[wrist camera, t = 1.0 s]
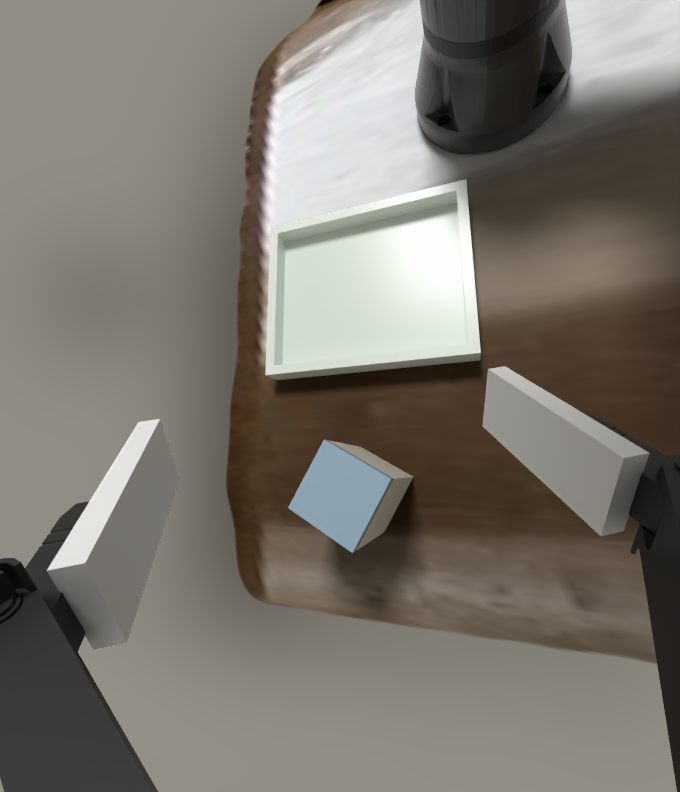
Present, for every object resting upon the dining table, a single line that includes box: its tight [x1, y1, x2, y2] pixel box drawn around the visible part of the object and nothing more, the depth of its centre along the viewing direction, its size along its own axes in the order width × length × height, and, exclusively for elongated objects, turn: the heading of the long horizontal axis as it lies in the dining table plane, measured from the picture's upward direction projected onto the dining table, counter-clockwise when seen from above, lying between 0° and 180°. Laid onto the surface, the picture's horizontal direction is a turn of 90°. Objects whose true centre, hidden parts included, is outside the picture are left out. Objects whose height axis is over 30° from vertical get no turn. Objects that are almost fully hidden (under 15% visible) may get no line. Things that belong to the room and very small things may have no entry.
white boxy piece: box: [288, 440, 413, 553], centre depth 33 cm, size 6×6×10 cm
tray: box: [266, 179, 481, 380], centre depth 40 cm, size 18×22×2 cm
